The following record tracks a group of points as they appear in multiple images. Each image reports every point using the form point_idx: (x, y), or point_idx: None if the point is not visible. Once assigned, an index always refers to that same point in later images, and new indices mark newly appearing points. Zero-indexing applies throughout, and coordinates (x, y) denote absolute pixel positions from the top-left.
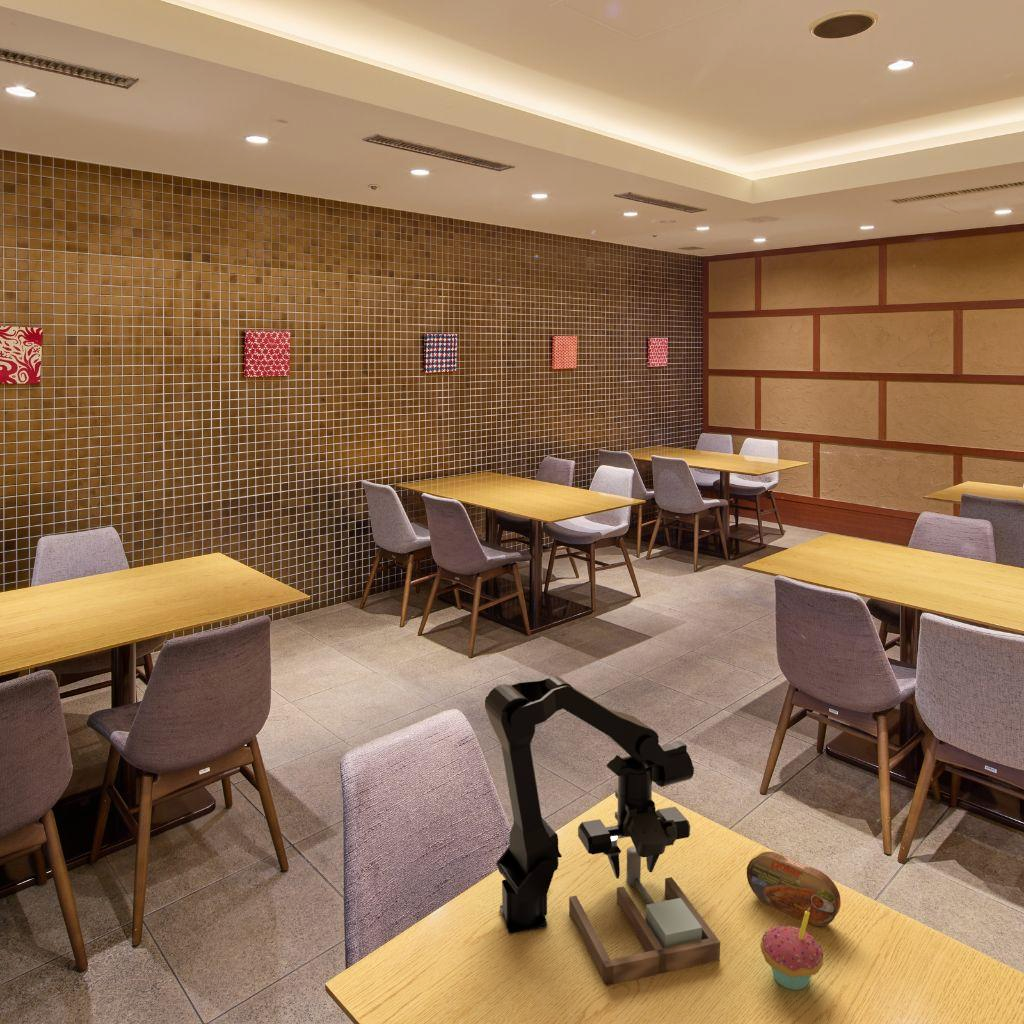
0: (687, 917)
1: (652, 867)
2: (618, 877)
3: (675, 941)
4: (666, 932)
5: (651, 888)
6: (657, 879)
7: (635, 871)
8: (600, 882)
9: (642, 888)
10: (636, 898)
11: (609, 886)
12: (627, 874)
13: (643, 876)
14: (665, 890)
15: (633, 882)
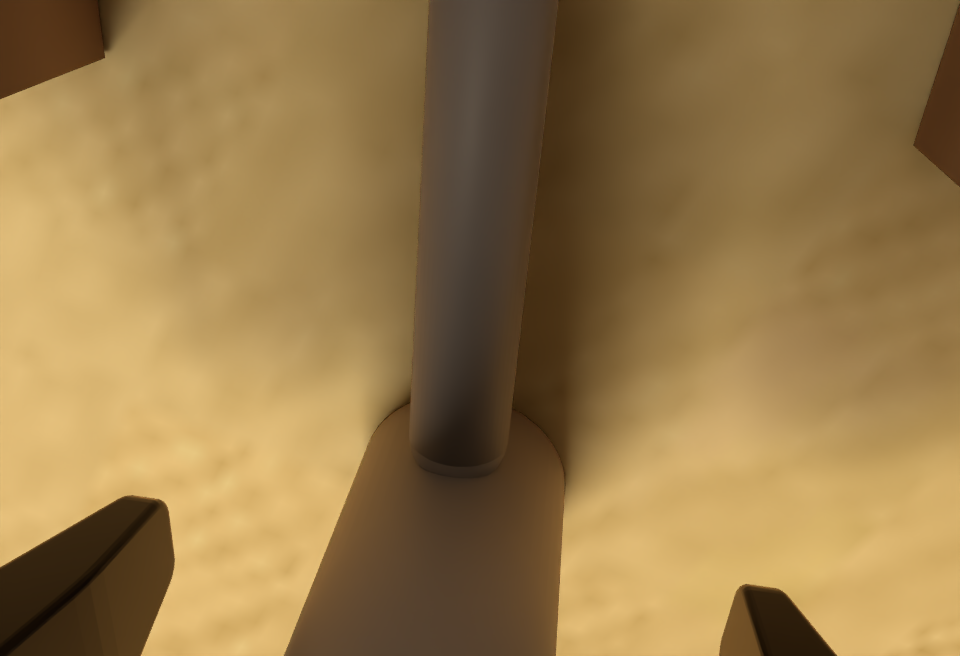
0: None
1: (72, 550)
2: (760, 598)
3: None
4: None
5: (265, 269)
6: (106, 395)
7: (445, 584)
8: (900, 635)
9: (482, 213)
10: (622, 154)
11: (841, 534)
12: (558, 596)
13: (273, 511)
14: (50, 54)
15: (506, 446)
